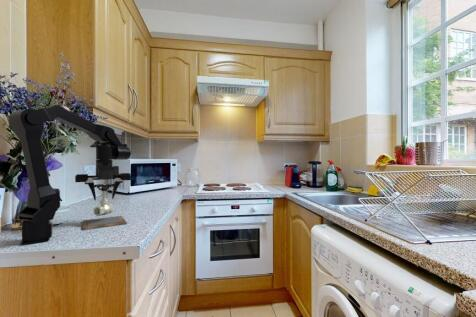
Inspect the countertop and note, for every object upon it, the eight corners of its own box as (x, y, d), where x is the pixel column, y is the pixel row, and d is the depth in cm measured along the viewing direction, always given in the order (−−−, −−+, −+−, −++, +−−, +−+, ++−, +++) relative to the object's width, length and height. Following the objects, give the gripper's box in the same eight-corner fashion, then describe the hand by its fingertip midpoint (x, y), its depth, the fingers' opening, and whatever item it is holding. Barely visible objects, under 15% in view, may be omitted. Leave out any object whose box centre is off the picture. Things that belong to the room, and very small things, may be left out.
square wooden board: (83, 230, 83) (83, 227, 83) (82, 221, 95) (82, 219, 95) (126, 224, 91) (126, 221, 91) (121, 217, 103) (121, 215, 103)
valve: (117, 213, 95) (117, 183, 96) (104, 217, 89) (104, 185, 89) (104, 212, 97) (104, 183, 97) (90, 216, 91) (90, 184, 91)
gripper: (75, 159, 81) (74, 205, 81) (133, 159, 92) (133, 200, 92) (75, 159, 91) (75, 200, 90) (128, 159, 101) (128, 196, 101)
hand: (104, 199), depth 93 cm, fingers closed on valve, 6 cm apart
